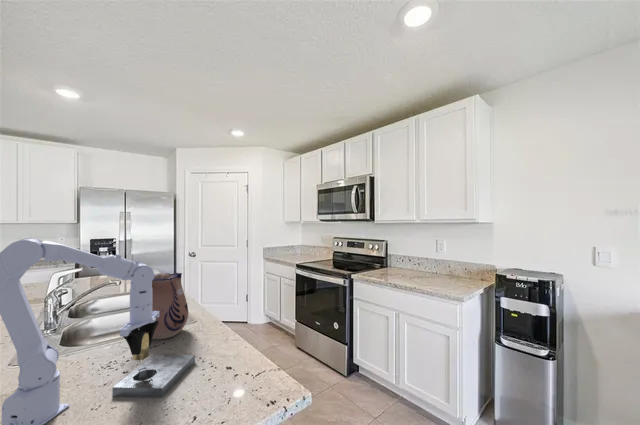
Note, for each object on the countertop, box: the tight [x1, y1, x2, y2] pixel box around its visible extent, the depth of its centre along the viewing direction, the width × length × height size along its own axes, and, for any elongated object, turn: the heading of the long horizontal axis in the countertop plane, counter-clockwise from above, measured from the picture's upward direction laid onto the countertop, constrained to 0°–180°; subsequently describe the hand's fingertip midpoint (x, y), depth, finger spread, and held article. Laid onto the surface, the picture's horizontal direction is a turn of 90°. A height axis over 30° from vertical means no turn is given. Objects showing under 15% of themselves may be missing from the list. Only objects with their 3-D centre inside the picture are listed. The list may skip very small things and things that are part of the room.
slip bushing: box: [132, 331, 150, 361], centre depth 82 cm, size 4×4×7 cm
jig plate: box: [111, 353, 196, 398], centre depth 84 cm, size 18×14×2 cm
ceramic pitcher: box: [152, 272, 189, 341], centre depth 113 cm, size 18×21×25 cm
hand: (141, 350), depth 82 cm, fingers closed on slip bushing, 4 cm apart
